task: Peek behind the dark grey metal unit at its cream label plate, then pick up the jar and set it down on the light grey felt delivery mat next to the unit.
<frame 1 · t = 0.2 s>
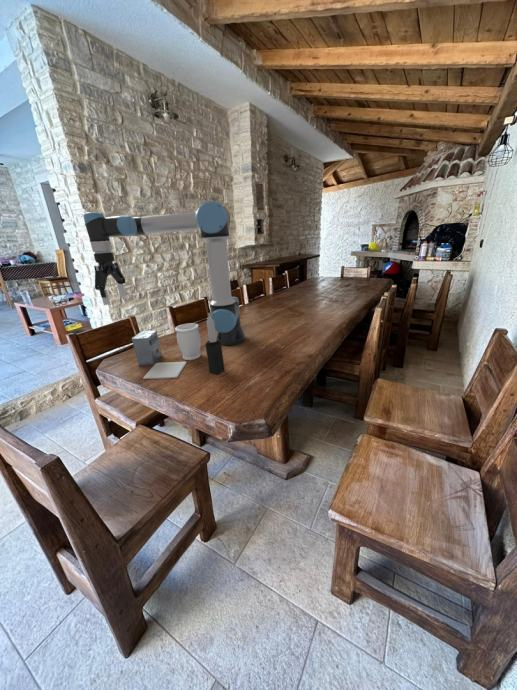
hand: (115, 301, 126), 27 cm above the table, fingers open, 13 cm apart
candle: (217, 371, 115), on the table
unit: (150, 360, 129), on the table
jar: (191, 357, 130), on the table
mat: (166, 370, 118), on the table
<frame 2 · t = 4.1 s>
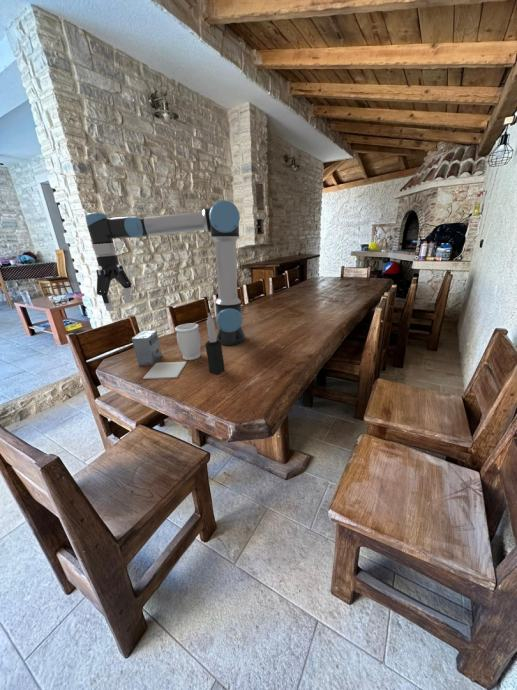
hand: (120, 306, 120), 26 cm above the table, fingers open, 13 cm apart
nothing on the table moved.
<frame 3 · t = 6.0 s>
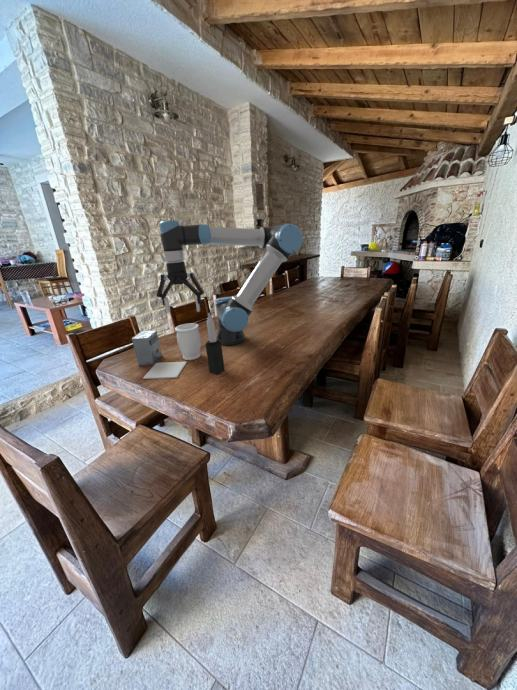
hand: (183, 311, 122), 22 cm above the table, fingers open, 13 cm apart
nothing on the table moved.
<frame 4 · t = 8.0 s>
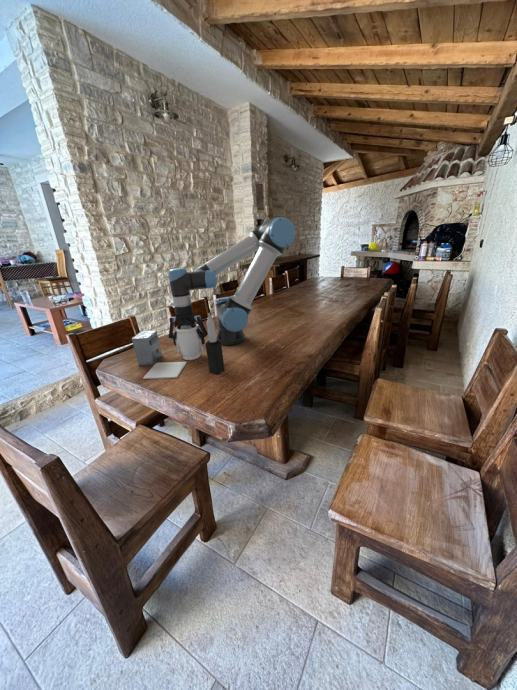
hand: (190, 351, 129), 3 cm above the table, fingers closed on jar, 10 cm apart
jar: (191, 357, 130), on the table, touching gripper
everything else where it was.
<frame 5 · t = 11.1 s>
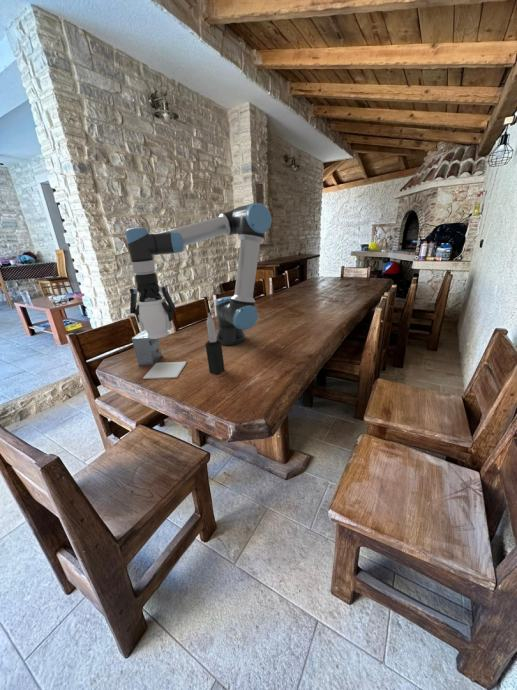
hand: (157, 329, 111), 19 cm above the table, fingers closed on jar, 10 cm apart
jar: (158, 336, 112), point 16 cm above the table, touching gripper
everything else where it was.
when the fingers open (5 cm above the table, at t = 14.1 s): jar drops 1 cm, resting on mat.
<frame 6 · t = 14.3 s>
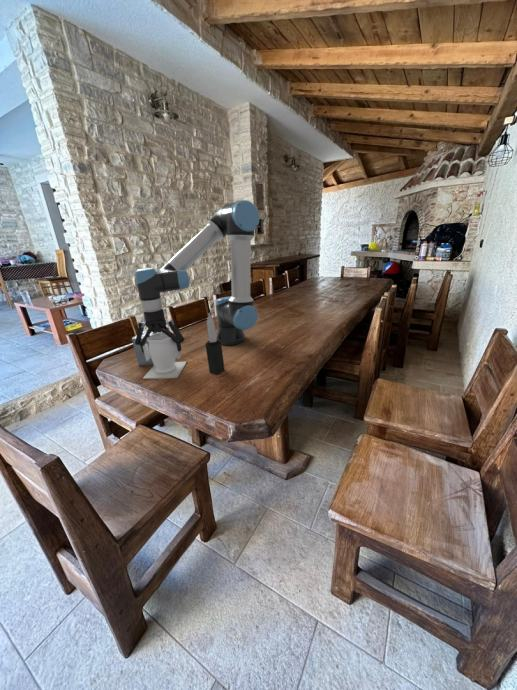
hand: (163, 358, 116), 6 cm above the table, fingers open, 13 cm apart
jar: (166, 369, 118), point 1 cm above the table, touching mat
everything else where it was.
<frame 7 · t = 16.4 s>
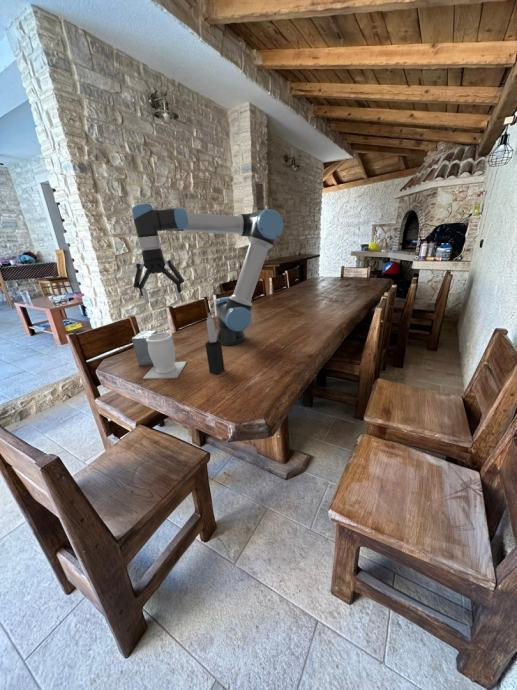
hand: (163, 302, 115), 28 cm above the table, fingers open, 13 cm apart
nothing on the table moved.
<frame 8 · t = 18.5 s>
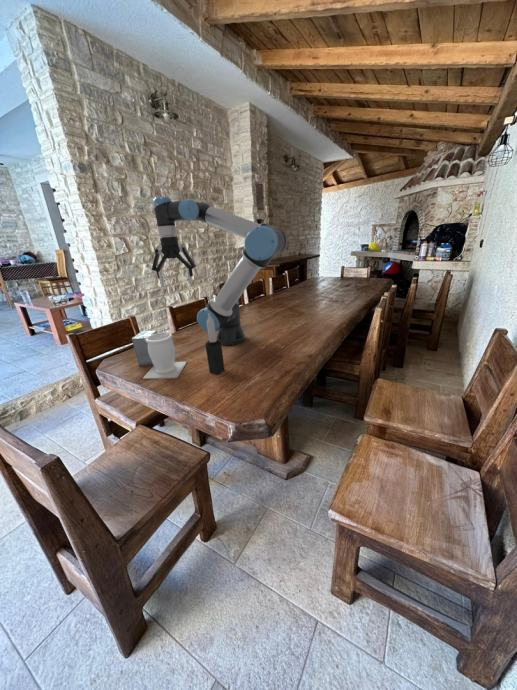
hand: (176, 284, 131), 32 cm above the table, fingers open, 13 cm apart
nothing on the table moved.
at the end: jar inside the target area on the mat (0.1 cm from its centre), point 0.4 cm above the mat's base; jar tilted 0°; the gripper is holding nothing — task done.
